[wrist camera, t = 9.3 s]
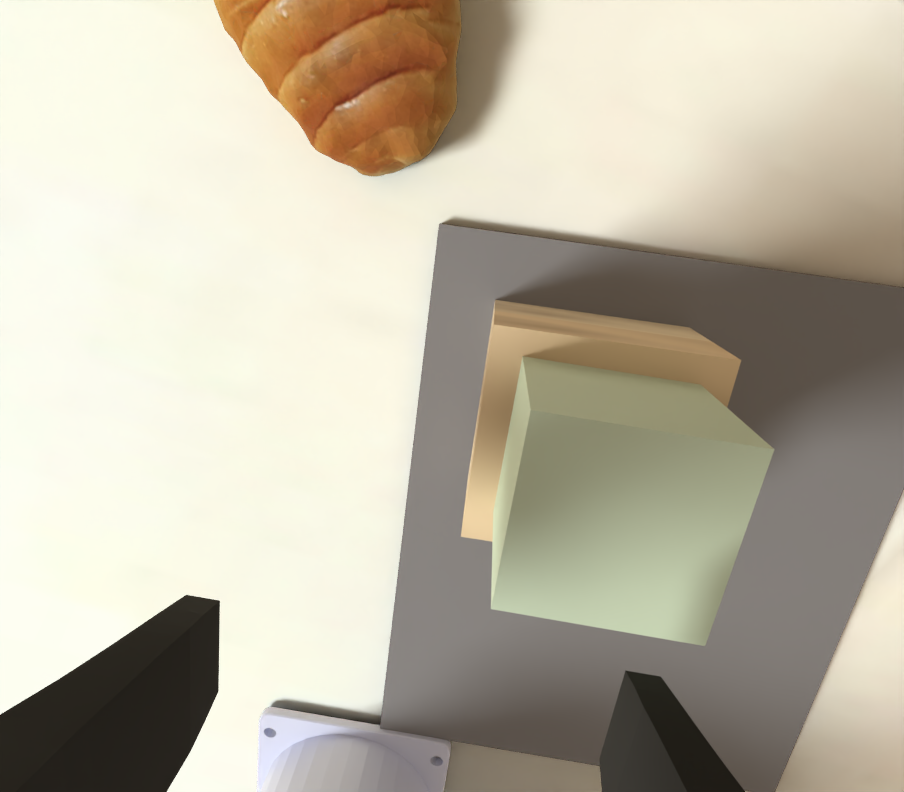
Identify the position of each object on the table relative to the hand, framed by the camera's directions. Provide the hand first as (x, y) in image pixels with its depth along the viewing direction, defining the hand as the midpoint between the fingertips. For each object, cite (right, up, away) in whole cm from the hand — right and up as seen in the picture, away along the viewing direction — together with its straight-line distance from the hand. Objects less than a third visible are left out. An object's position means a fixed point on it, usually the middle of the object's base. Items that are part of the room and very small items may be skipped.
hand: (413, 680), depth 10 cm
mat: (+7, 0, +10) cm, 13 cm away
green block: (+4, +4, +5) cm, 7 cm away
